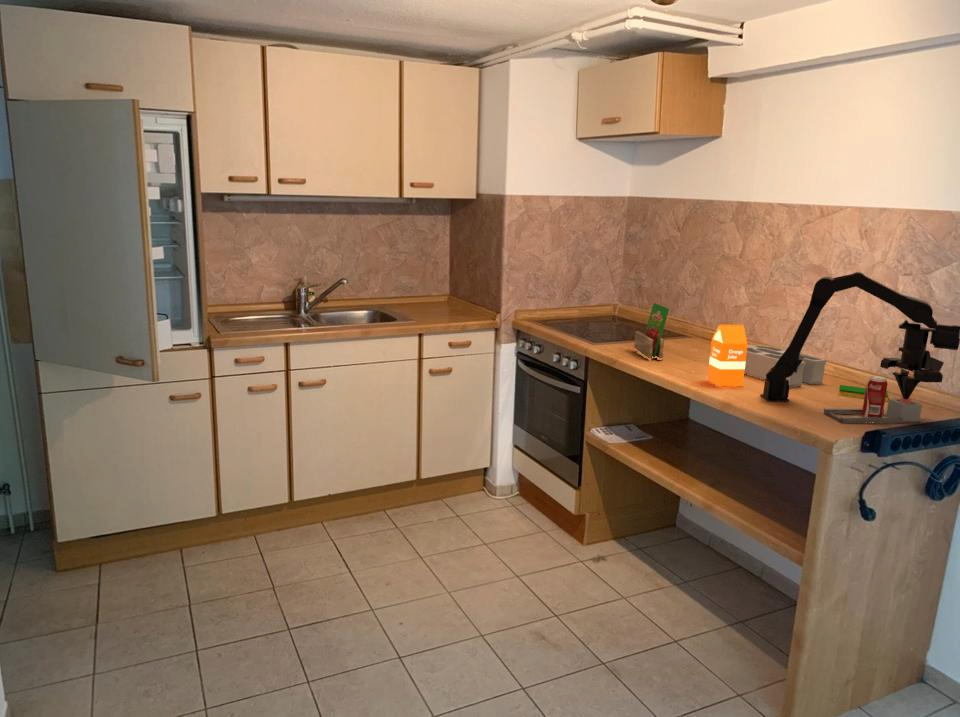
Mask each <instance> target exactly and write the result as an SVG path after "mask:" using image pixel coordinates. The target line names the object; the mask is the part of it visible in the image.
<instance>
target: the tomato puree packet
mask: <svg viewBox="0 0 960 717" xmlns="http://www.w3.org/2000/svg"><path fill="white" fill-rule="evenodd" d="M669 311H670V308H669V307H666V306H662V305H661V304H658V303H656V302H653V303H652V307H651V310H650V314H649V318H648V321H647V325H646V328H645V331H644V333H643V334H644V335H646V336H647V337H649V338H651V339H653V349H652V356H653V357H655V356H656V353H657V349H658V346H659V343H660V339H662V336H663V333H664V332H663V331H664V330H665V325H666V322H667V317H668V314H669Z"/></svg>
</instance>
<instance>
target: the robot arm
mask: <svg viewBox="0 0 960 717" xmlns="http://www.w3.org/2000/svg"><path fill="white" fill-rule="evenodd" d="M855 287H856V288H858V289H860V290H863V291H864V292H866V293H868V294H870V295H872V296H874V298H877V299H880V300H882V301H883V302H885V303H887V304H888V305H891V306H893V307H895V308H896V309H897V310H899V311H900V312H901V313H902V314H903V315H904V316H906V317H907V318H909V320H911V321H912V323H911V322H909V321H908V319H905V320H904V321H903V322H902V323H900V324H898V329H901V330H905V331H904V332H905V333H904V337H903V343H902V346H899V347H898V352H901V355H900V358H899V357H884V358H883V359H881V360H880V365H879V367H880V368H883V369H885V370H886V369H889V368H895V372H892V375H893V376H894V379H895V380H896V383H897V385H898V387H899V390H900V393H901V396H902V397H901V398H903V399H910V397H911V395H912V394H913V393H914V391H915V389H916V388H917V386H918V385H919V383H943V377H944V375H943V373H942V372H940V371H941V370H942V368H943V366H944V363H945V362H944V361H941V360H939V359H937V358H935V357H932V356H931V352H930V350H928V349H927V345H928V339H929V334H930V339H929V344H931V345H932V346H933V348H934V349H941V350H942V349H943V350H952V351H958V349H959V346H960V325H958V324H952V325H950V324H949V325H948V324H942V323H939V324H938V321H937V320H936V319H935V318H934V316H933V313H934V312H933V308H932V305H931V304H930V303H929V302H928V301H925V300H923V299H919V298H915V297H912V296H910V295H905V294H902V293H900V292H898V291H896V290H894V289H892V288H890V287H889V286H886V285H885V284H883V283H881V282H879V281H877V280H874V279H872V278H871V277H869V276H867V275H865V274H864V273H863V272H860V271H855V272H853V273H849V274H846V275H841V276H836V277H834V278H833V277H831V276H823V277H821V278H820V279H819V278H818V280H817V281H816V282H815V284H814V286H813V291H812V292H811V293H812V294H811V297H810V301H809V305H808V307H807V309H806V312H805V313H804V314H803V317H802V319H801V321H800V324H799V326H798V327H797V329H796V331H795V333H794V336H793V337H792V339H791V341H790V344H789V346H788V347H787V348H786V349H785V350H786V351H785V352H784V353H783V355H782V356H781V357H780V359H779V360H778V361H777V363H776V364H775V366H774V367H772V368H771V369H770V370H769V371H768V373H767V374H766V378H765V381H764V384H763V385H764V386H763V392H762V393H761V394H760V395H759V396H760V397H762V398H764V400H767V401H769V402H790V399H789V394H790V393H789V392H790V389H791V388H790V385H789V380H787V379H786V378H787V377H790V376H792V374H793V373H794V371H795V373H797V371H798V369H799V365H800V364H801V362H802V361H803V359H804V357H801V356H800V353H801V354H802V350H803V348H804V345H805V343H806V341H807V340H808V337H809V336H810V333H811V332H812V330H813V328H814V325H815V323H816V322H817V320H818V318H819V316H820V313H821V312H822V310H823V308H825V306H826V305H827V303H828V301H829V300H830V299H831V298H832V297H833V295H835V293H837V292H841V291H845V290H849V289H852V288H855ZM913 322H914V323H913ZM921 324H923V325H924V326H926V327H922V326H921Z"/></svg>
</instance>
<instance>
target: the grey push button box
mask: <svg viewBox="0 0 960 717" xmlns="http://www.w3.org/2000/svg"><path fill="white" fill-rule="evenodd" d="M886 407H887V409H886V416H887V415H888V416H887V417H889V416H890V417H901V418H903V422H920V421H921V413H922V408H923V404H921V403H920V402H916V401H915V400H912V399H911V403H902V402H900V398H888V401H887V406H886Z"/></svg>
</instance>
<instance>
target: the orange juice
mask: <svg viewBox="0 0 960 717" xmlns="http://www.w3.org/2000/svg"><path fill="white" fill-rule="evenodd" d="M710 344H711V345H710V355H709V360H708V362H709V363H708V373H707V381H708V380H709V381H710V382H712V383H714V384H716V385H717V386H743V385H744V379H745V378H744V377H745V375H744V370H745V363H746V353H747V345H749V344H748V340H747V336H746V331H745V327H744V324H718V327H717V329H716V330H715V332H714V334H713V336H712V338H711V343H710ZM710 382H709V383H710ZM717 386H716V387H717Z"/></svg>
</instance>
